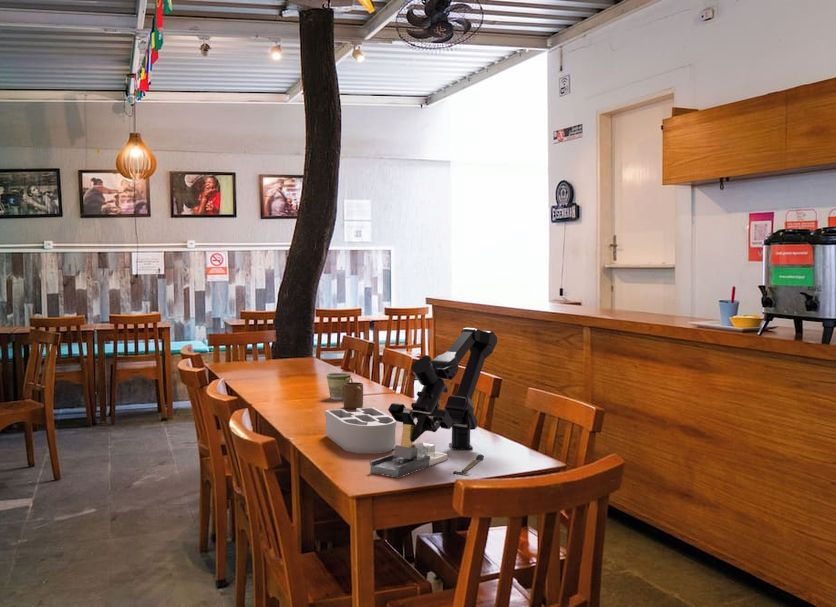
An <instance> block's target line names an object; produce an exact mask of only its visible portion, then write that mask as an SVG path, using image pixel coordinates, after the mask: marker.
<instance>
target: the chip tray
mask: <svg viewBox="0 0 836 607" xmlns="http://www.w3.org/2000/svg"><path fill="white" fill-rule="evenodd" d="M448 459H449V454H448V453H444V452H438V451H435V458H434V459H431V460H429V467H431V466H430V465H432V466H434V465H437V464H439V463H442V462H444V461H447V460H448ZM436 463H437V464H436ZM433 464H434V465H433Z"/></svg>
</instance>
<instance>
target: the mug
mask: <svg viewBox="0 0 836 607" xmlns="http://www.w3.org/2000/svg"><path fill="white" fill-rule="evenodd" d="M343 408H344V409H347V410H356V408H364V383H362V382H357V381H353V382H351V381H350V382H348V383H344V399H343Z"/></svg>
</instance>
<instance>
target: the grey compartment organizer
mask: <svg viewBox="0 0 836 607" xmlns="http://www.w3.org/2000/svg"><path fill="white" fill-rule="evenodd" d="M324 414H325V435H326V437H327V438H328V439H330V440H331V441H333V442H334V443H335V444H336V445H338V446H339V447H340V448H341V449H343V450H344V451H346V452H350V453H354V452H355V454H364V453H373V454H381V453H380V452H383V453H387V452H386V451H388V452H391V451H393V450H395V445H396V432H397V431H396V430H397V421H396V420H395V419H394V418H393V416H392V415H391V416H390V415H388V414H387V413H385V412H383V411H381V410H380V409H377V408H376V407H374V406H373V407H362V408H356V409H355V411H346V410H345V408H344V409H343V408H341V409H326V410H325V412H324ZM392 449H393V450H392ZM390 450H391V451H390Z"/></svg>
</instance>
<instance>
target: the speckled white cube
mask: <svg viewBox="0 0 836 607" xmlns="http://www.w3.org/2000/svg"><path fill="white" fill-rule="evenodd" d="M423 443H424V444H423V457H425V456H430V460H431V459H434V458H435V452H436V444H432V443H426V442H423Z"/></svg>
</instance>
